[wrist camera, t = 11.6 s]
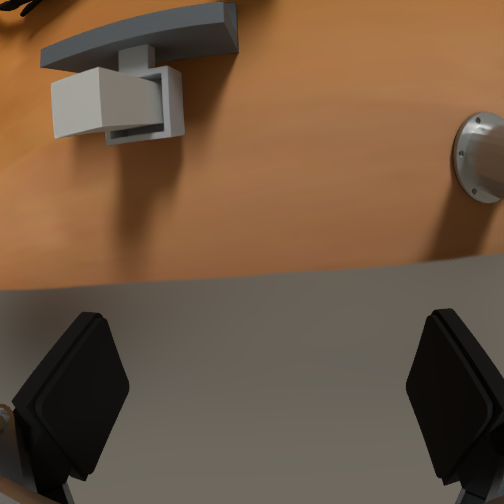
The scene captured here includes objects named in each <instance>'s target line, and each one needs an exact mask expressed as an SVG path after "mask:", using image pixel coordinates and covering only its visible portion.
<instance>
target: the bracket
mask: <svg viewBox="0 0 504 504" xmlns="http://www.w3.org/2000/svg"><path fill="white" fill-rule="evenodd" d="M232 53H239V47H238V24H237V5H236V2H230V3H224V2H215V3H206V4H199V5H192V6H186V7H180V8H174V9H169V10H164V11H159V12H154V13H150V14H145V15H141V16H137V17H133V18H129V19H125V20H122V21H118V22H115V23H111V24H108V25H105V26H102V27H98V28H95V29H92V30H89V31H87V32H84V33H81V34H78V35H75V36H73V37H70V38H67V39H65V40H62V41H60V42H57V43H55V44H53V45H50V46H48V47H46V48H43V49H41V61H40V68H48V69H55V70H63V71H69V72H76V73H81V72H84V71H87V70H90V69H94V68H97V67H101V68H105V69H109V70H113V71H119V72H120V73H124V74H128V75H131V76H135V77H138V78H142V79H145V80H149V81H152V82H155V83H159V84H162V99H163V116H164V124H159V125H153V126H147V127H141V128H135V129H125V130H115V131H106V132H105V141H106V146H110V145H117V144H123V143H129V142H136V141H144V140H151V139H159V138H168V137H175V136H181V135H185V128H184V111H183V92H182V73H181V72H179V71H177V70H175V69H173V68H171V67H169V66H162V67H156V68H155V63H160V62H166V61H172V60H179V59H186V58H193V57H201V56H210V55H220V54H232Z"/></svg>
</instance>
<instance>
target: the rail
mask: <svg viewBox="0 0 504 504" xmlns="http://www.w3.org/2000/svg"><path fill="white" fill-rule="evenodd" d="M51 99H52V115H53V127H54V137H55V139H57V138H63V137H69V136H76V135H83V134H90V133H98V132H106V131H115V130H125V129H135V128H141V127H147V126H153V125H159V124H164V116H163V99H162V84H159V83H155V82H152V81H149V80H145V79H142V78H138V77H135V76H131V75H128V74H124V73H120V72H117V71H113V70H109V69H105V68H101V67H97V68H94V69H90V70H87V71H84V72H81V73H78V74H75V75H72V76H70V77H67V78H64V79H61V80H59V81H56V82H53V83H51Z"/></svg>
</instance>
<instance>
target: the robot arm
mask: <svg viewBox="0 0 504 504" xmlns="http://www.w3.org/2000/svg"><path fill="white" fill-rule="evenodd" d="M453 158H454V167H455V172H456V175H457V178H458V181H459V183H460V184H461V186H462V188H463V189H464V190H465V192H466V193H467V194H468V195H469V196H471V197H472V198H474V199H475V200H477V201H480V202H482V203H494V202H497V201H499V200H504V119H503V118H501V117H500V116H499V115H496V114H494V113H489V112H479V113H476V114H473V115H472V116H470V117H468V118H467V119H466V120H465V121H464V122H463V124H462V125H461V127H460V129H459V131H458V133H457V136H456V139H455V144H454V152H453ZM406 391H407V394H408V397H409V400H410V402H411V405H412V407H413V410H414V413H415V415H416V418H417V420H418V423H419V426H420V429H421V432H422V434H423V437H424V440H425V443H426V446H427V449H428V452H429V455H430V458H431V461H432V464H433V467H434V470H435V473H436V475H437V477H438V478H442V481H443V484H444V486H445V485H448V484H451V483H454V482H457V481H460V483H461V486H462V488H461V491H460V493H459V495H458V498H457V500H456V502H455V504H504V379H503V377H502V375H501V374H500V372H499V371H498V369H497V368H496V366H495V365H494V364H493V362H492V361H491V359H490V358H489V356H488V355H487V354H486V352H485V351H484V349H483V348H482V347H481V345H480V344H479V342H478V341H477V340H476V338H475V337H474V336H473V334H472V333H471V332H470V330H469V329H468V328H467V326H466V325H465V324H464V323H463V321H462V320H461V319H460V317H459V316H458V315H457V314H456V313H455V311H454V310H453V309H451V308H448V309H438V310H434V311H433V312H432V314H431V315H430V316H428V317H427V319H426V322H425V325H424V329H423V333H422V336H421V339H420V343H419V346H418V349H417V352H416V355H415V358H414V362H413V364H412V367H411V370H410V373H409V376H408V379H407V382H406ZM128 392H129V381H128V378H127V376H126V373H125V371H124V368H123V366H122V363H121V360H120V357H119V354H118V351H117V349H116V346H115V343H114V340H113V337H112V334H111V331H110V328H109V325H108V322H107V320H106V319H105V318H103V316H102V315H101V314H100V313H93V312H82V313H81V314H80V315H79V316H78V317H77V318H76V319H75V321H74V322H73V323H72V324H71V325H70V327H69V328H68V329H67V330H66V331H65V333H64V334H63V335H62V336H61V337H60V339H59V340H58V341H57V342H56V344H55V345H54V346H53V347H52V349H51V350H50V351H49V352H48V354H47V355H46V356H45V357H44V359H43V360H42V361H41V362H40V364H39V365H38V366H37V368H36V369H35V370H34V371H33V373H32V374H31V375H30V377H29V378H28V379H27V381H26V382H25V383H24V385H23V386H22V388H21V389H20V390H19V392H18V393H17V395H16V396H15V397H14V398H13V400H12V403H13V405H14V406H15V407H16V408H15V409H14V411H12V410H11V409H10V407H9V406H7V405H5V404H0V504H75V503H74V500H73V497H72V495H71V492H70V489H69V486H68V484H67V478H68V476H69V475H70V476H71V477H73V478H76V479H79V480H82V481H86V479H87V476H88V474H92V473H93V471H94V470H95V467H96V465H97V462H98V460H99V458H100V455H101V453H102V451H103V448H104V446H105V444H106V441H107V439H108V437H109V434H110V432H111V430H112V427H113V425H114V423H115V421H116V419H117V417H118V414H119V412H120V410H121V408H122V405H123V403H124V401H125V399H126V397H127V395H128Z"/></svg>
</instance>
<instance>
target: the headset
mask: <svg viewBox="0 0 504 504" xmlns="http://www.w3.org/2000/svg"><path fill="white" fill-rule="evenodd" d="M31 1H32V2H31ZM41 1H42V0H10V1H6V2H4V3H2V4H0V10H1V11H12V10H15V9H17V8H19V6H21V5H23V4H25V3H28V2H31V3H29V4H28V5H27V6H26V7H25V8H24V9H23V11H22V12H21V13H20V16H21V17H24V16H26V15H27V14H28V13H29V12H30V11H31V10H32V9H34V8H35V7H36V6H37V5H38V4H39V3H40V2H41Z"/></svg>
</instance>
